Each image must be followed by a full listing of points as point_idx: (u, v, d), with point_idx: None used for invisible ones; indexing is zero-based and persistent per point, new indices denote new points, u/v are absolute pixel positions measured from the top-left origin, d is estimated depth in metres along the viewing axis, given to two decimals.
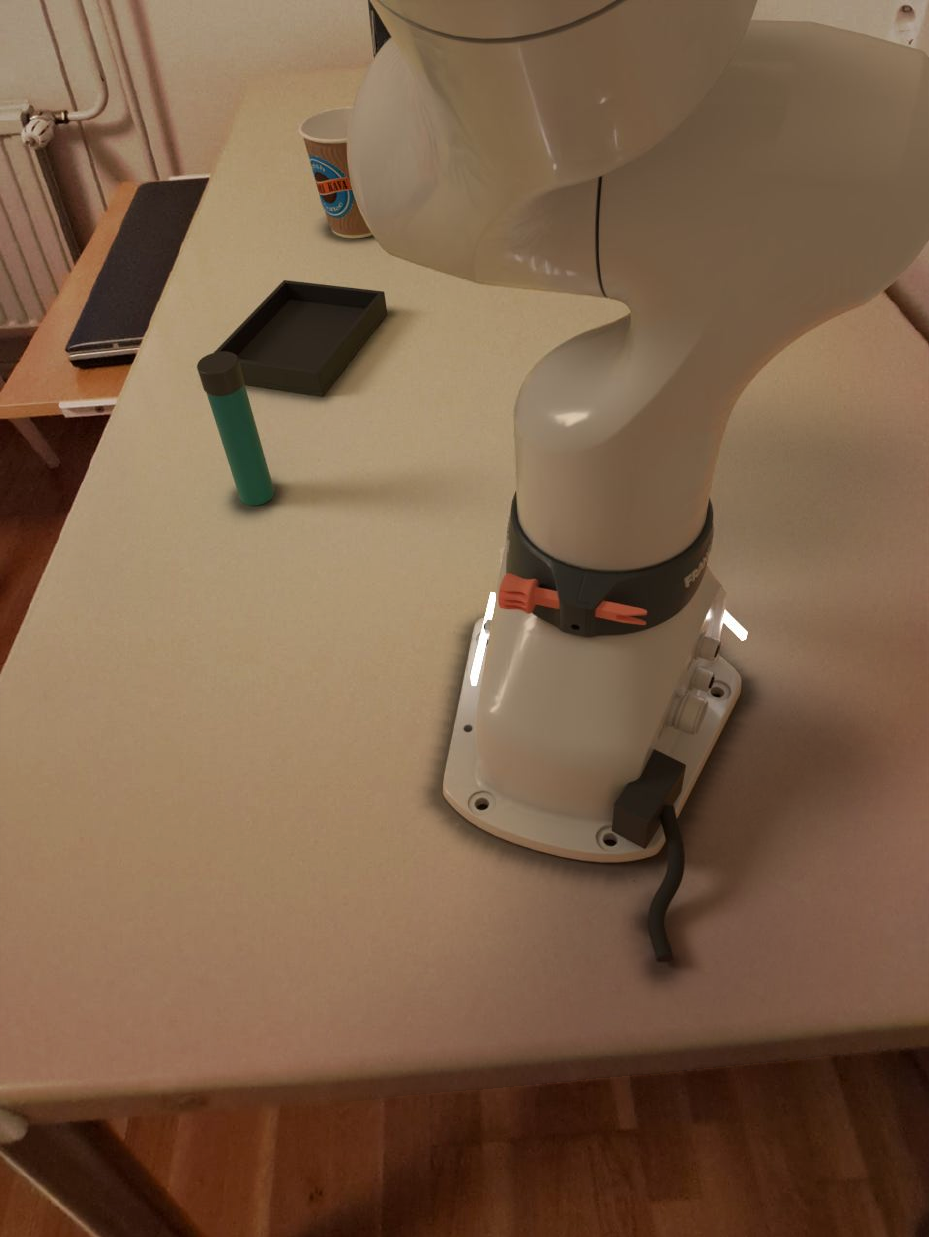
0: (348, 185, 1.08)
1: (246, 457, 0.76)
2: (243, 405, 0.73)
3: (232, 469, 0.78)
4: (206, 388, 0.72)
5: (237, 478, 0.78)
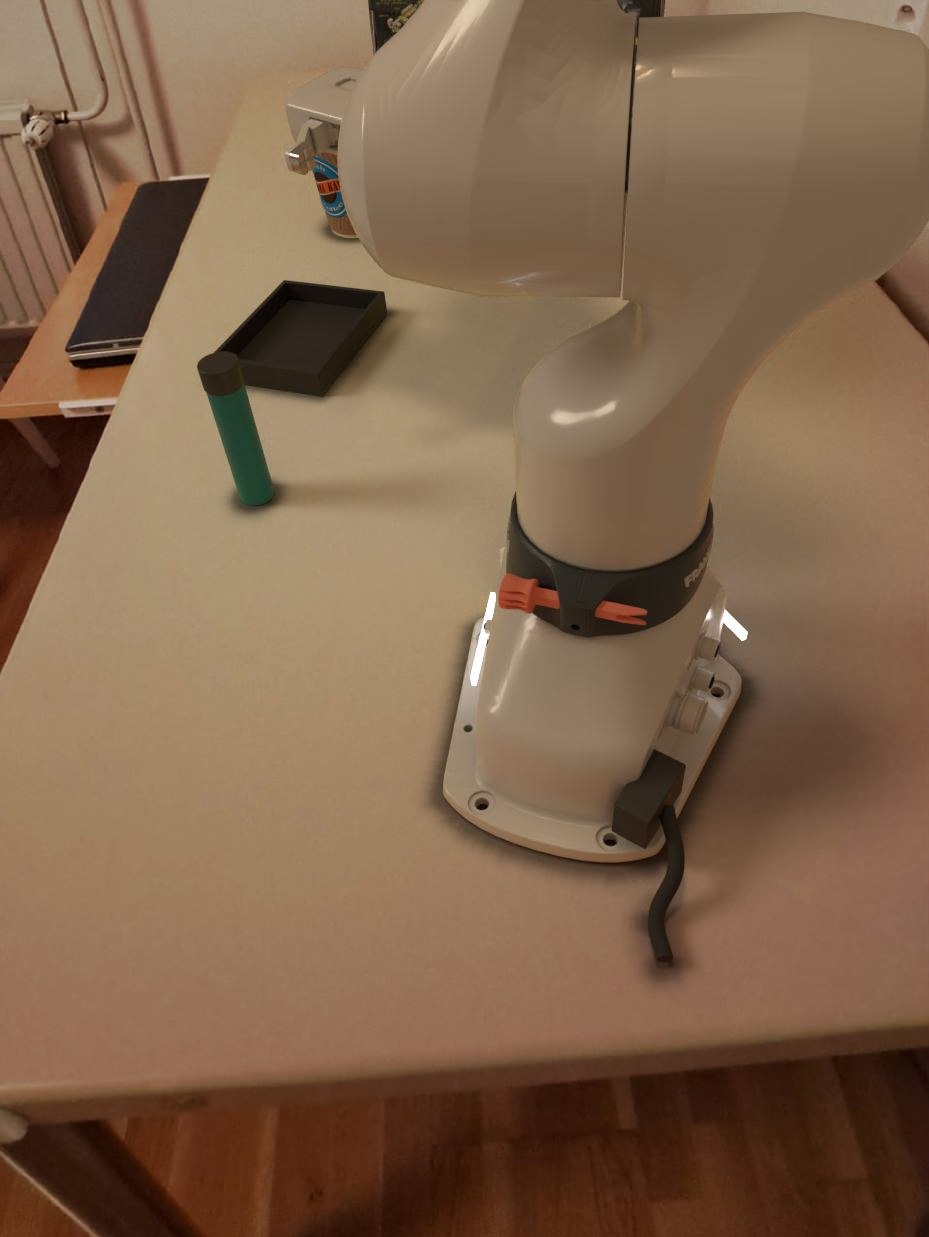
0: None
1: (246, 457, 0.76)
2: (243, 405, 0.73)
3: (232, 469, 0.78)
4: (206, 388, 0.72)
5: (237, 478, 0.78)
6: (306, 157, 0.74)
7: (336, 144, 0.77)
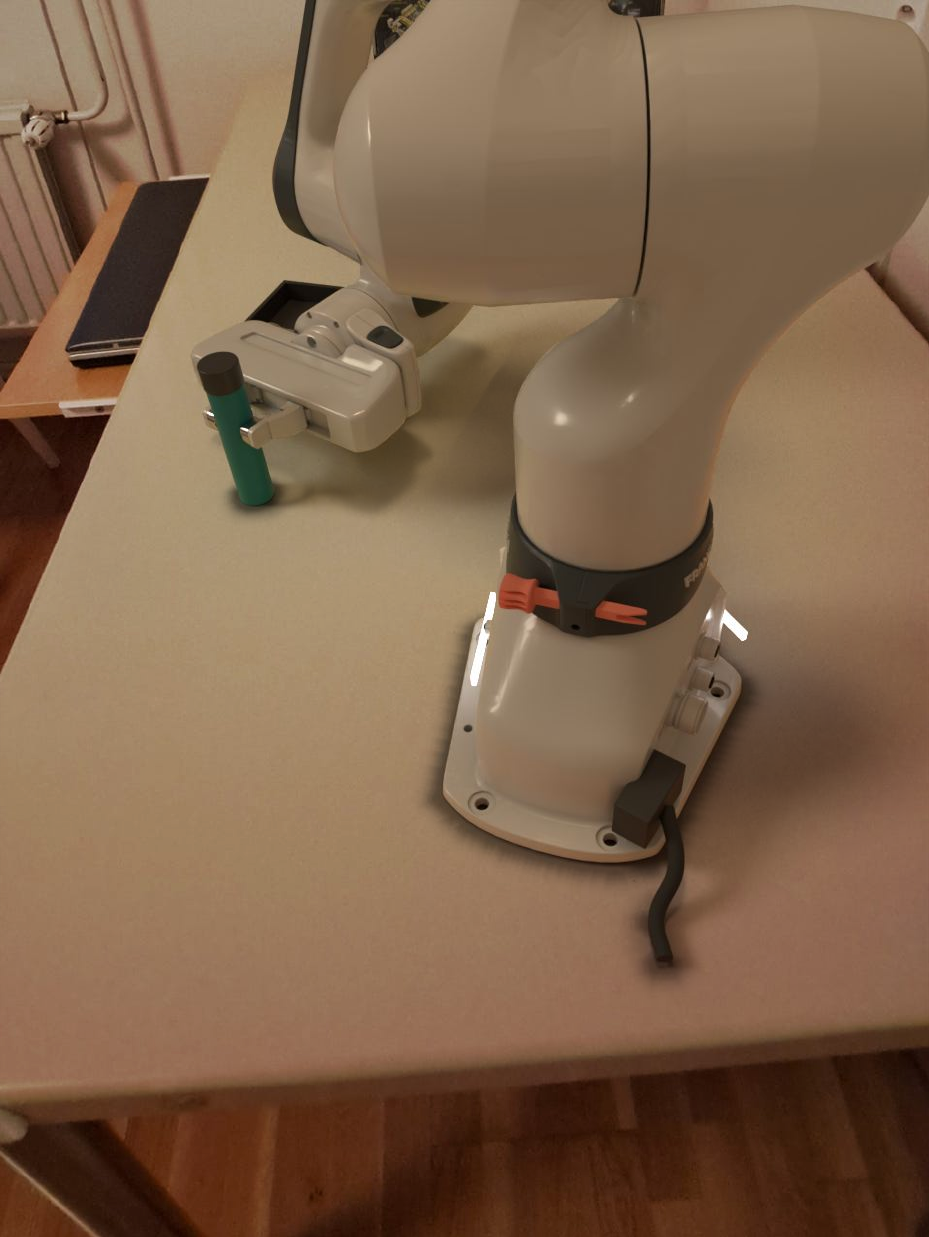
0: None
1: (246, 457, 0.76)
2: (243, 405, 0.73)
3: (232, 469, 0.78)
4: (206, 388, 0.72)
5: (237, 478, 0.78)
6: None
7: None
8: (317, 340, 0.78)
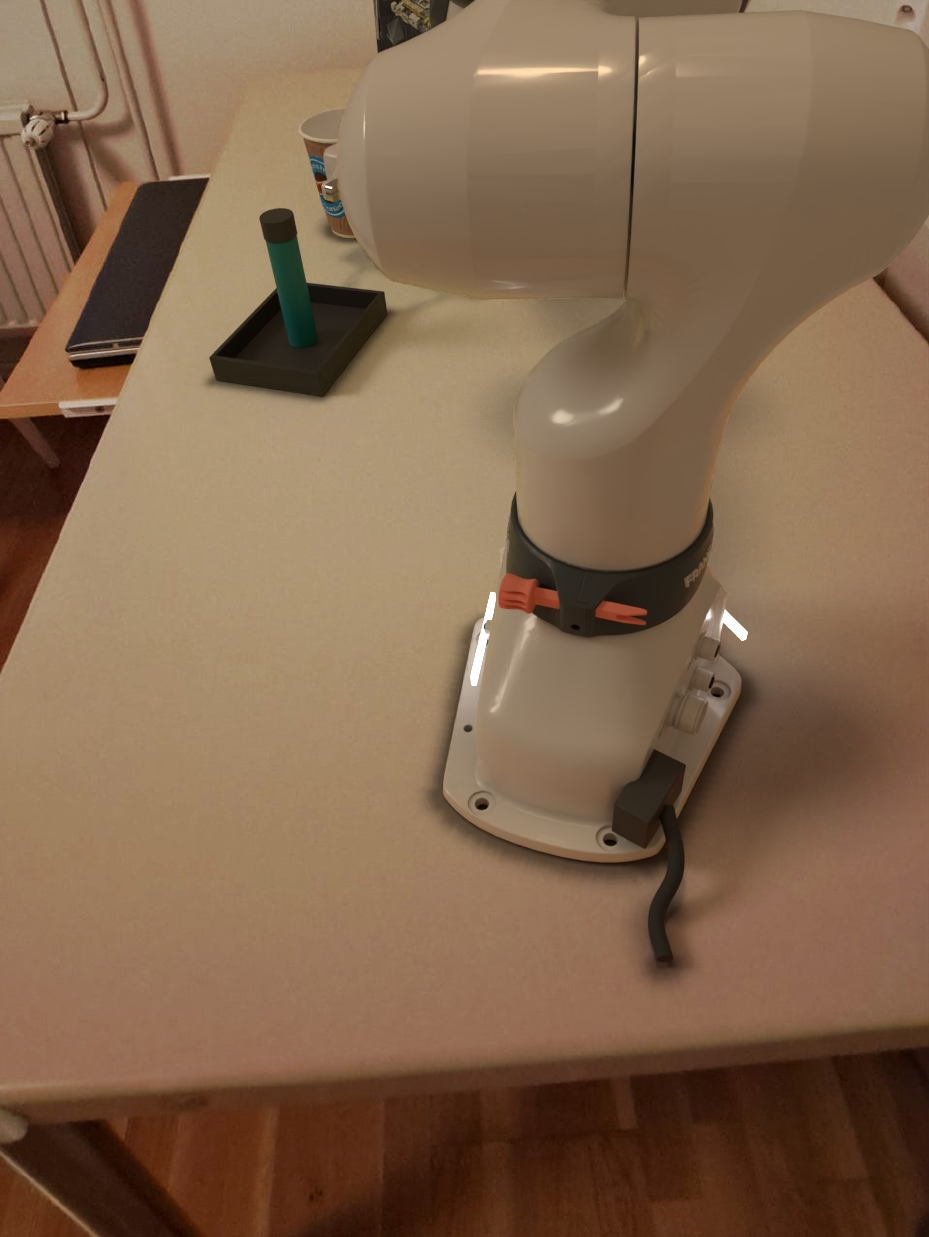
0: None
1: (297, 301, 0.92)
2: (296, 253, 0.89)
3: (284, 313, 0.94)
4: (266, 236, 0.88)
5: (288, 321, 0.94)
6: (338, 189, 0.97)
7: None
8: None
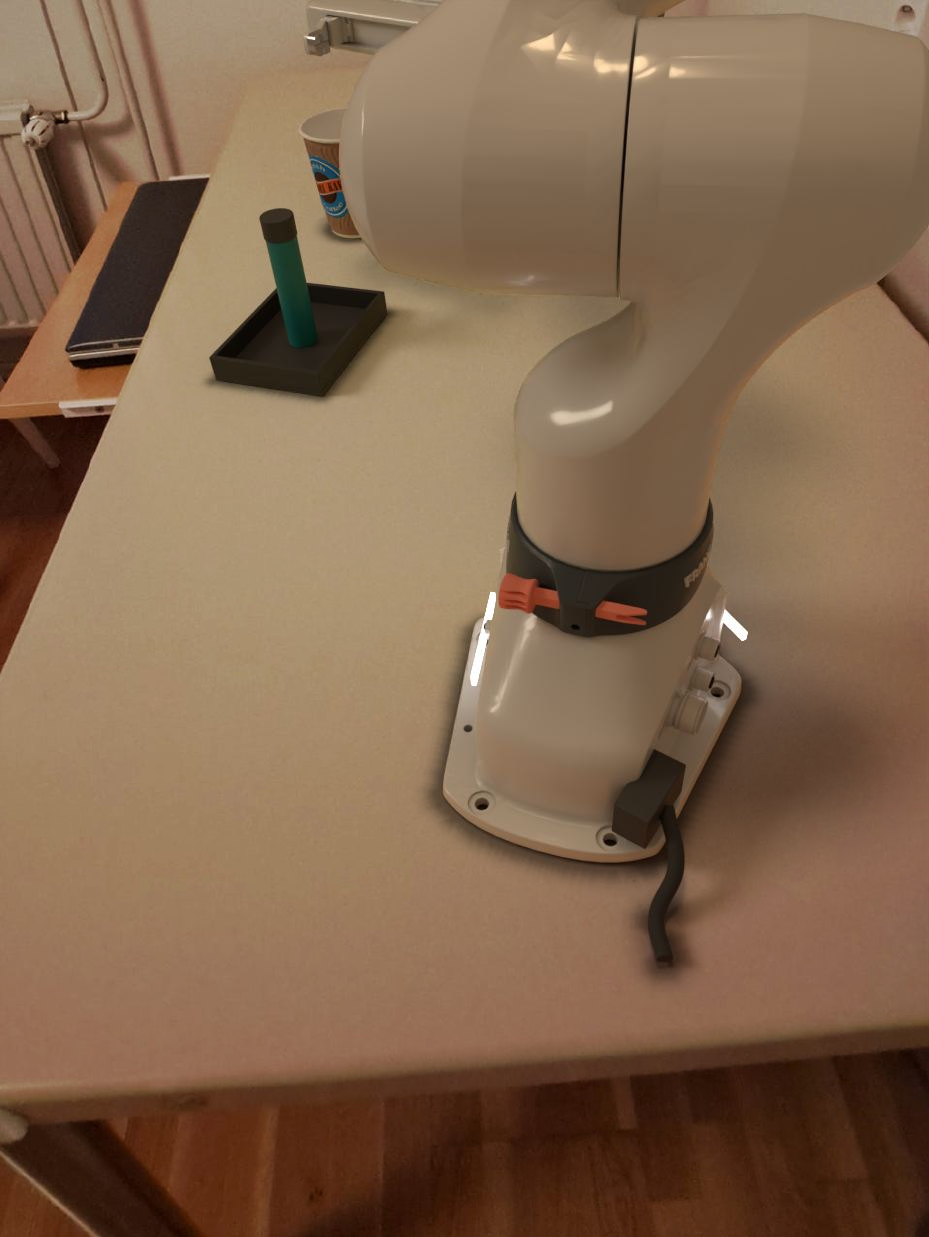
0: None
1: (297, 301, 0.92)
2: (296, 253, 0.89)
3: (284, 313, 0.94)
4: (266, 236, 0.88)
5: (288, 321, 0.94)
6: (322, 40, 0.85)
7: (348, 41, 0.88)
8: None
